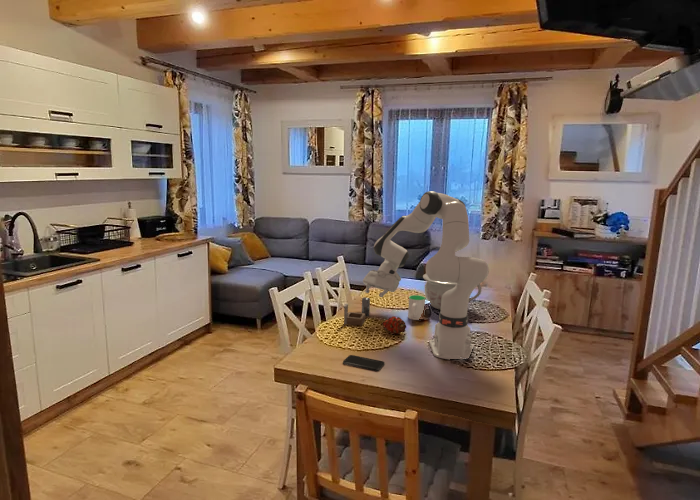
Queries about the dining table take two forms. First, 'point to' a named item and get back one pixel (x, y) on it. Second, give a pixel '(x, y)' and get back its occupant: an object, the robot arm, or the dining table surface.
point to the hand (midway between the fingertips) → (373, 294)
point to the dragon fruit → (394, 325)
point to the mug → (416, 306)
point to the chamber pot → (440, 291)
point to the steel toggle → (366, 306)
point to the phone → (364, 363)
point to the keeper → (353, 317)
